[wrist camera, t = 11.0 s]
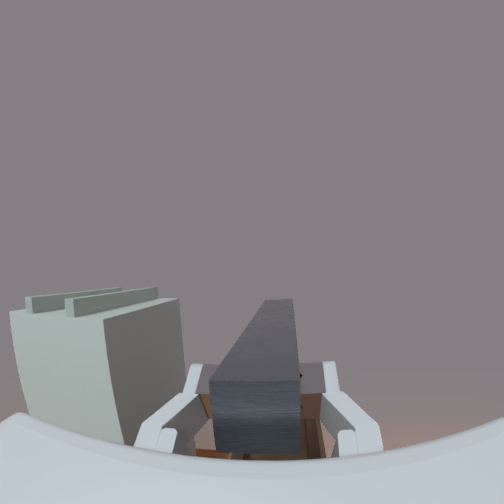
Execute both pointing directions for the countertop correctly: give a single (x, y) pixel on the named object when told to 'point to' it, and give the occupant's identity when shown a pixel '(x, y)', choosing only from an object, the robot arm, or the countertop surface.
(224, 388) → the bar
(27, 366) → the stand
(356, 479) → the robot arm
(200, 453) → the countertop surface
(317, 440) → the chassis block
